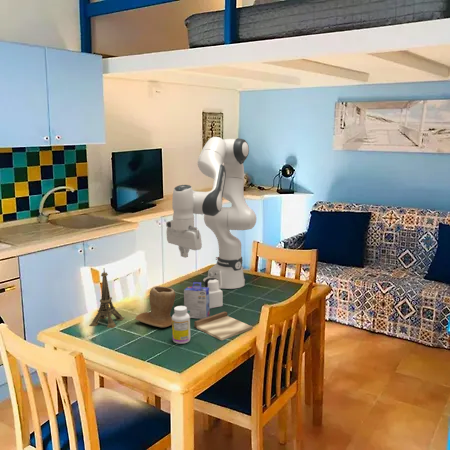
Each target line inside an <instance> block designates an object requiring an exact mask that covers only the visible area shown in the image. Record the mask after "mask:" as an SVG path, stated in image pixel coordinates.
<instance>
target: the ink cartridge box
mask: <svg viewBox="0 0 450 450" xmlns="http://www.w3.org/2000/svg"><path fill="white" fill-rule="evenodd" d="M183 306H185V307H187V312H186V313H188V314H189V316H190V319H197V320H200V319H203V318H206V317H209V316H211V315H210V311H211V310H210V309H211V308H210V309H209V287H205V286H202V282H201V281H193V283H192V286H186V288H185V289H184V290H183Z"/></svg>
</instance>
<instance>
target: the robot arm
mask: <svg viewBox="0 0 450 450" xmlns="http://www.w3.org/2000/svg"><path fill="white" fill-rule="evenodd" d="M249 153H250V147H249V143H248V141H247V140H246V139H243V138H240V137H239V138H225V139H223V138H222V137H219V136H212V137H210V138H209V139H208V140H207V141H206V142H205V145H204V146H203V147H202V149H201V152H200V154H199V156H198V158H197V167H198V169H199V171H200V172H201V173H202V174H203V175H204V176H206V177H208V178H211V179H213V183H212V188H211V189H210V190H208V191H198V190H194V189H193V187H192V186H191V185H190V184H179V185H177V186H175V187H174V188H173V192H172V204H171V205H172V211H173V212H172V213H173V214H172V220H169V221H166V222H165V226H166V240H167V242H168V244H171V245H175V246H178V250H179V253H180V257H183V258H188V257H189V251H190V250H191V251H199V250H201V249H202V248H203V247H202V245H203V244H202V242H203V241H202V236H201V232H200V230H199V229H198V227H195V216H194V215H204V216H203V220H204V224H205V225H206V227H207V228H208V229H210V230H211V231H212V232H213V234H214V235H215V238H216V240H217V244H218V256H216V257H215V260H216V263H215V264H214V265H213V266H212V267H211V268H209V269H208V271H207V276H206V277H204V278H203V280H202V281H203V282H204V283H205V280H206V279H208V278H216V279H218V280H219V288H218V289H220V290H221V289H229V290H230V289H231V290H232V289H240V288H243V287H244V286H246V283H245V282H246V279H245V276H244V267H243V257H242V242H241V240H240V239H239V238H238V237H236V236H234V235H233V234H232V232H231V231H246V230H247V231H248V230H252V229H253V228H254V227H255V225H256V223H257V214H256V213H255V211H254V210H253V209H252V208H251V207H250V206H249V205H248V204H247V202H246V199H245V196H244V195H245V194H244V193H245V192H244V186H245V184H244V183H245V168H244V162H245V161H246V160H247V158H248V157H249ZM223 163H224V164H223ZM223 199H225V200H226V201H228V202H229V203H231V206H229V207H227V206H226V207H225V206H223Z"/></svg>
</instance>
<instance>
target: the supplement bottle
mask: <svg viewBox="0 0 450 450" xmlns="http://www.w3.org/2000/svg"><path fill="white" fill-rule="evenodd" d="M173 309H174V310H173V314H172V316H171V317H172V325H171V332H172V334H171V335H172V341H173V343H176V344H180V345H181V344H186V343H187V344H188V343H189V342H190V341H191V318H190V316H189V314H188V313H186V312H187V307H185V306H184V305H177V306H175V307H174V308H173Z"/></svg>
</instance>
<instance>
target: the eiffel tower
mask: <svg viewBox="0 0 450 450" xmlns="http://www.w3.org/2000/svg"><path fill="white" fill-rule="evenodd" d="M108 275H109V274H108V272H106V271H105V269H103V272H102V273H101V274H100V277H101V278H102V284H101V297H100V299H99V302H100V305H99V309H98V310H97V313H96V315H95V317H94V319H92V321H91V323H90V324H89V325H88V326H89V327H96V326H97V325H98V326H99V321H100V320H105V319H106V318H107V326H106V328H108V329H109V328H110V329H114V328H116V327H117V324H116V323H115V321H123V320H124V319H125V317H123V316H122V315H121V313H120V312H119V311H118V310H116V307H115V306H114V304H113V301H112V300H113V297H112V296H111V295H110V289H109V284H108V279H107V277H108ZM112 315H113V316H114V318H115V321H114V319H113V318H112Z"/></svg>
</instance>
